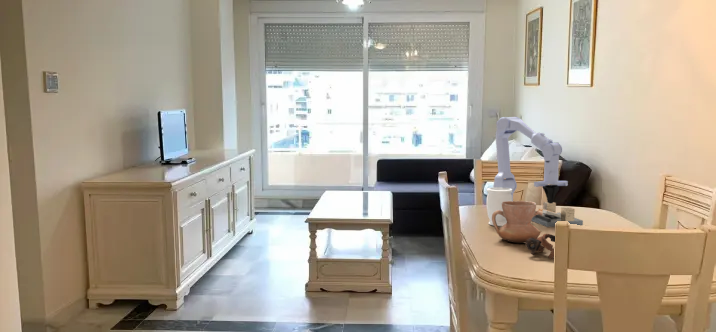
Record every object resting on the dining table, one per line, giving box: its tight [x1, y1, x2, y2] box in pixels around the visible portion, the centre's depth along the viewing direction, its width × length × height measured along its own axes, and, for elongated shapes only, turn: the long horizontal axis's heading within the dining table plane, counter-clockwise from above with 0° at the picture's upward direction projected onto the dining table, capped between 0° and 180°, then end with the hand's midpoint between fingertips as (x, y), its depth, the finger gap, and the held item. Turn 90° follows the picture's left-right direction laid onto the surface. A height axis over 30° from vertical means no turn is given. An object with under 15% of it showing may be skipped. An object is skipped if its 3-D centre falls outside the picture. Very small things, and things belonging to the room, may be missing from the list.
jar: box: [486, 186, 512, 227], centre depth 241 cm, size 11×10×15 cm
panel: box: [531, 201, 584, 228], centre depth 246 cm, size 16×18×7 cm
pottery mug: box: [525, 233, 556, 260], centre depth 191 cm, size 12×10×8 cm
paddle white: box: [542, 210, 561, 218], centre depth 246 cm, size 7×3×2 cm, turn 101°
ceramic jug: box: [492, 200, 543, 244], centre depth 212 cm, size 18×14×14 cm
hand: (550, 202), depth 247 cm, fingers closed
